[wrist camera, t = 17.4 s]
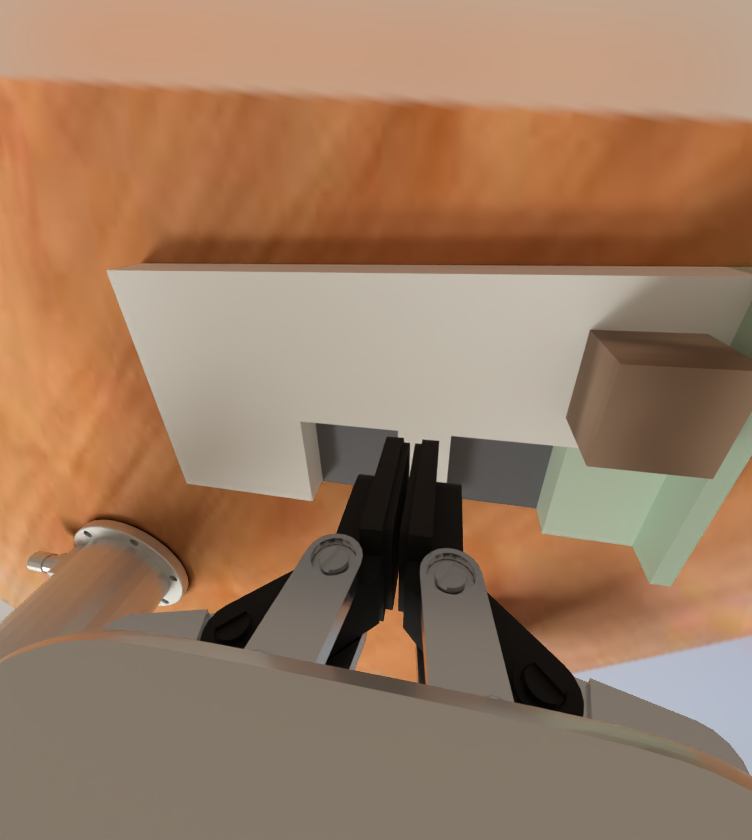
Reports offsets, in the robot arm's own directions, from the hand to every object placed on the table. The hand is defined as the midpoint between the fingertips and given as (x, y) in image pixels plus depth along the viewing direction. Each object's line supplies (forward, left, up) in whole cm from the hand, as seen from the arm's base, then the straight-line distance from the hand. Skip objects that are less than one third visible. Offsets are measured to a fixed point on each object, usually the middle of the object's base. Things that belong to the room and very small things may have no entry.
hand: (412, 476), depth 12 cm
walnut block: (+9, 0, -8) cm, 12 cm away
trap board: (-3, -3, -11) cm, 12 cm away
